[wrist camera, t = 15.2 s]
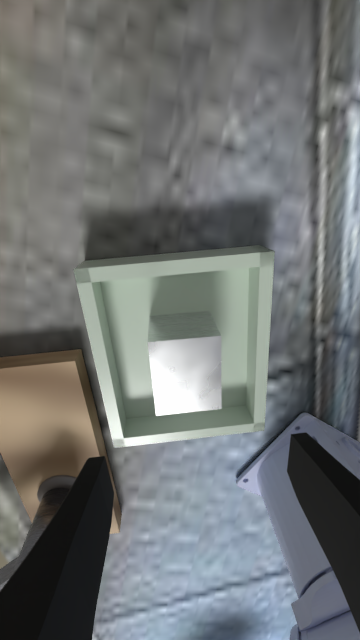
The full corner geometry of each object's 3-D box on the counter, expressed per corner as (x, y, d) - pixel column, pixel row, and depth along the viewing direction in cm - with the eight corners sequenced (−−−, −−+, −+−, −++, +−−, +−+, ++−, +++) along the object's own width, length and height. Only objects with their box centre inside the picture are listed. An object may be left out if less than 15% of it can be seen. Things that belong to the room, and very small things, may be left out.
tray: (253, 407, 23) (264, 430, 20) (118, 423, 22) (114, 447, 20) (259, 245, 18) (274, 251, 15) (84, 260, 17) (73, 269, 15)
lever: (59, 482, 21) (33, 555, 17) (89, 500, 22) (72, 574, 18) (-33, 550, 23) (-78, 632, 19) (-2, 564, 24) (-38, 644, 20)
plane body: (121, 514, 26) (119, 536, 25) (47, 523, 26) (39, 546, 24) (81, 349, 19) (73, 363, 18) (-21, 359, 19) (-39, 375, 17)
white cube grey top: (210, 374, 20) (221, 409, 17) (156, 379, 20) (156, 415, 17) (209, 310, 18) (221, 335, 15) (149, 315, 18) (147, 342, 15)
